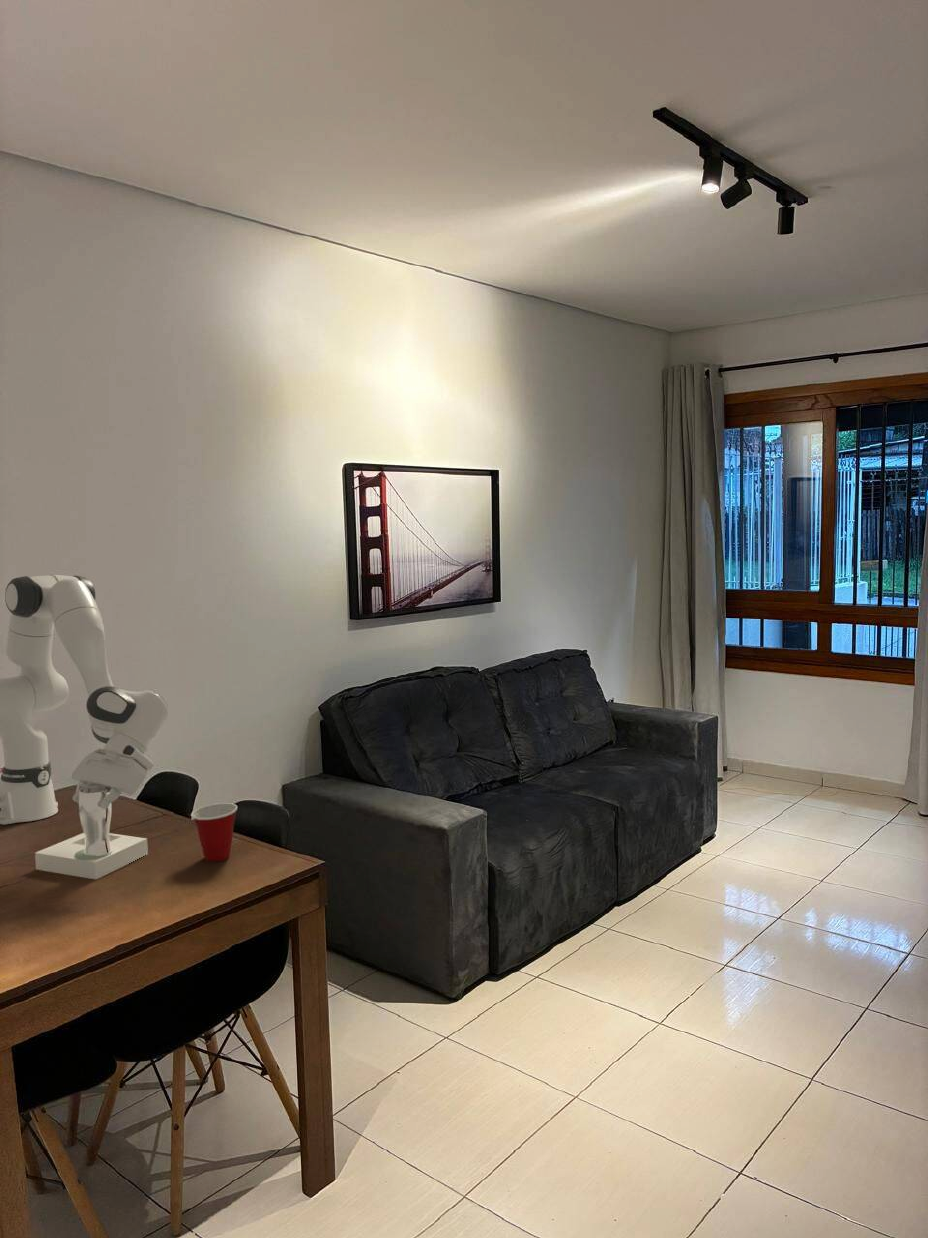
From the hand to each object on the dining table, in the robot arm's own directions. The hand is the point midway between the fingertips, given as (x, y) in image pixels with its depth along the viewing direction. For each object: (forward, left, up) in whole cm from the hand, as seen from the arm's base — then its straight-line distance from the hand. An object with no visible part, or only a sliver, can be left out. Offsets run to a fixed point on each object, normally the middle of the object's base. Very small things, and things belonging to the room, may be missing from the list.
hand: (88, 804), depth 213 cm
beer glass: (+1, +1, -12) cm, 12 cm away
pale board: (-4, +5, -16) cm, 17 cm away
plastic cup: (+22, +17, -16) cm, 32 cm away
